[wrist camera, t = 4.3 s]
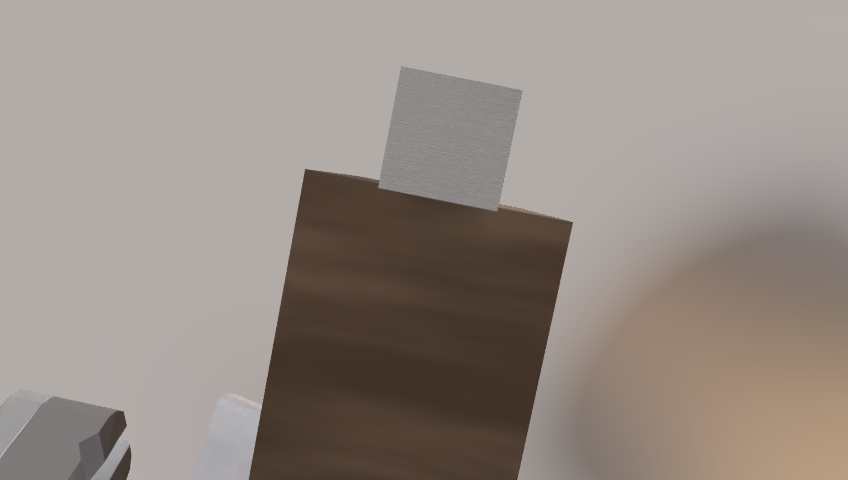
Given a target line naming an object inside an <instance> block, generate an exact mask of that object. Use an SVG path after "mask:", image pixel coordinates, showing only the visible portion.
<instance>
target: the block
mask: <svg viewBox="0 0 848 480" xmlns="http://www.w3.org/2000/svg"><path fill="white" fill-rule="evenodd" d="M521 95H522V90H518V89H513V88H508V87H503V86H498V85H493V84H488V83H483V82H478V81H472V80H467V79H462V78H457V77H452V76H447V75H442V74H436V73H432V72H426V71H422V70H416V69H411V68H406V67H401V70H400V76H399V81H398V86H397V91H396V96H395V102H394V107H393V112H392V118H391V123H390V128H389V133H388V138H387V143H386V149H385V154H384V160H383V164H382V170H381V175H380V180H379V185H378V188H381V189H386V190H391V191H396V192H401V193H406V194H411V195H416V196H421V197H426V198H432V199H437V200H442V201H447V202H452V203H457V204H462V205H467V206H472V207H477V208H482V209H487V210H492V211H498V206H499V201H500V196H501V191H502V186H503V182H504V177H505V172H506V167H507V162H508V157H509V152H510V148H511V143H512V137H513V133H514V128H515V123H516V118H517V114H518V109H519V104H520V99H521Z"/></svg>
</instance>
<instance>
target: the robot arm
mask: <svg viewBox="0 0 848 480" xmlns="http://www.w3.org/2000/svg"><path fill="white" fill-rule="evenodd" d="M126 426H127V425H126V420H125V416H124V412H123V411H120V410H115V409H110V408H106V407H101V406H96V405H91V404H87V403H82V402H78V401H73V400H68V399H63V398H59V397H56V396H51V395H46V394H41V393H35V392H30V391H25V390H20V391H18V392H17V393H15V394H13V395H12V396H10V397H9V398H8V399H7V400H6V401H5V402H4V403H3V405H2V406H1V407H0V480H126V479H127V476H128V473H129V470H130V463H131V450H130V444H129V443H128V442H127V441H126V440H124V438H123V437H122V436H121V434H122V432H123V431H124V429H125V428H126Z"/></svg>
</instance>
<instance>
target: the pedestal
mask: <svg viewBox="0 0 848 480" xmlns="http://www.w3.org/2000/svg"><path fill="white" fill-rule="evenodd" d="M378 185H379V180H374V179H369V178H364V177H359V176H352V175H345V174H337V173H330V172H322V171H314V170H307V169H305V174H304V179H303V185H302V190H301V196H300V202H299V206H298V212H297V218H296V223H295V228H294V234H293V239H292V245H291V250H290V256H289V261H288V267H287V272H286V278H285V284H284V289H283V295H282V300H281V306H280V311H279V317H278V322H277V327H276V333H275V338H274V344H273V350H272V355H271V361H270V366H269V371H268V377H267V382H266V388H265V394H264V399H263V404H262V410H261V415H260V421H259V426H258V432H257V437H256V443H255V448H254V454H253V459H252V465H251V470H250V476H249V480H517V478H518V474H519V469H520V464H521V460H522V455H523V450H524V445H525V441H526V437H527V432H528V427H529V422H530V418H531V414H532V409H533V404H534V400H535V395H536V390H537V386H538V380H539V377H540V372H541V367H542V363H543V358H544V353H545V349H546V344H547V339H548V335H549V330H550V325H551V321H552V316H553V312H554V307H555V303H556V298H557V294H558V289H559V284H560V279H561V275H562V270H563V266H564V261H565V257H566V252H567V247H568V243H569V238H570V234H571V229H572V224H573V222H570V221H566V220H562V219H559V218H554V217H551V216H547V215H543V214H539V213H536V212H532V211H528V210H524V209H521V208H516V207H511V206H506V205H501V204H499V206H498V211H492V210H487V209H482V208H477V207H472V206H467V205H462V204H457V203H452V202H447V201H442V200H437V199H432V198H426V197H421V196H416V195H411V194H406V193H401V192H396V191H391V190H386V189H381V188H378Z"/></svg>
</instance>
